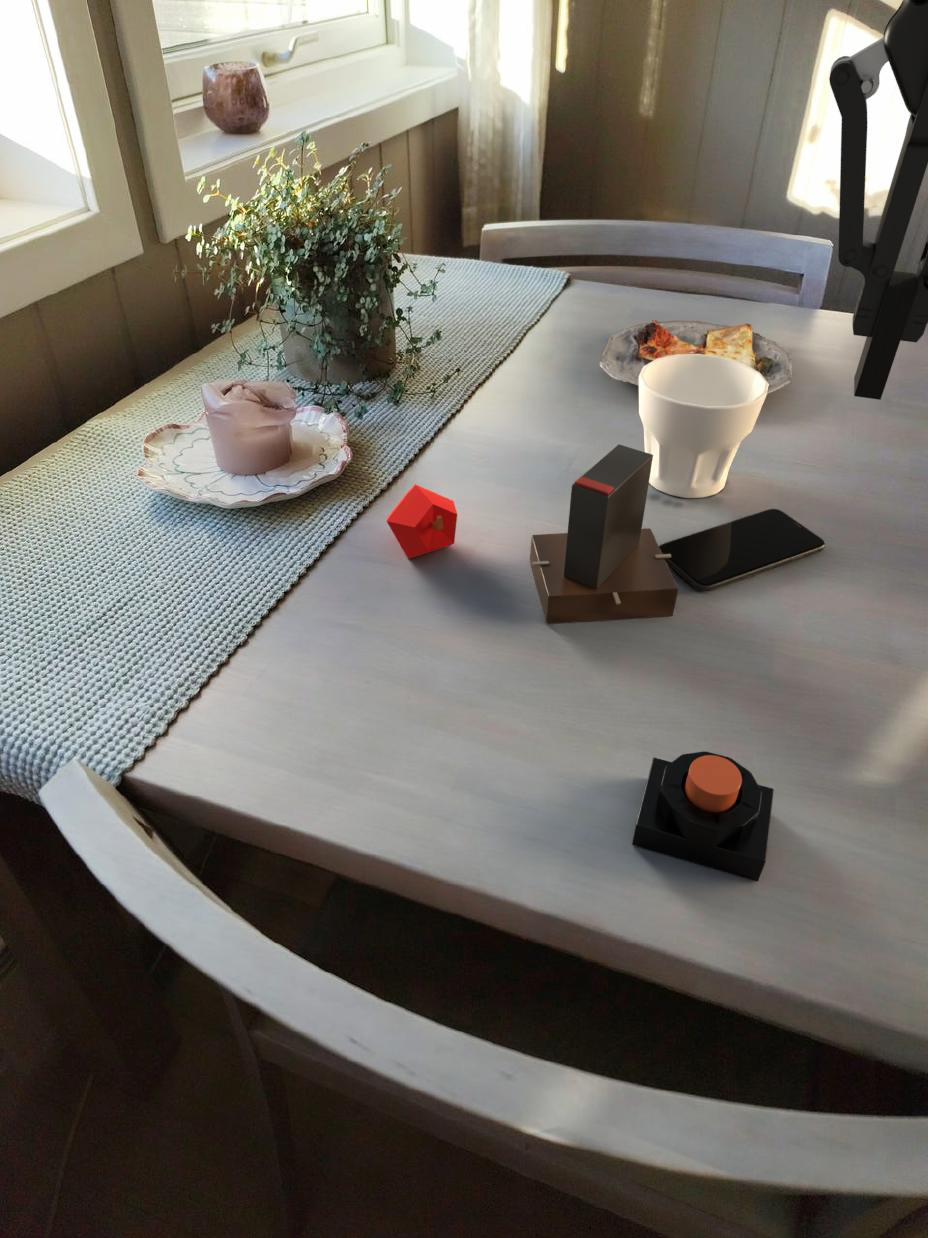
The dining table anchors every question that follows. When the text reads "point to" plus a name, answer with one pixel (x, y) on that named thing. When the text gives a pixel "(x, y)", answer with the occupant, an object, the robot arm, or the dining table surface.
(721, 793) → the button
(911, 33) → the robot arm
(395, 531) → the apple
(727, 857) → the button block
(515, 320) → the dining table surface
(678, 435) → the cup
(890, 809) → the dining table surface
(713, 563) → the smartphone
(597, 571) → the dark grey block
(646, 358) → the food plate
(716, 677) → the dining table surface
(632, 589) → the base
